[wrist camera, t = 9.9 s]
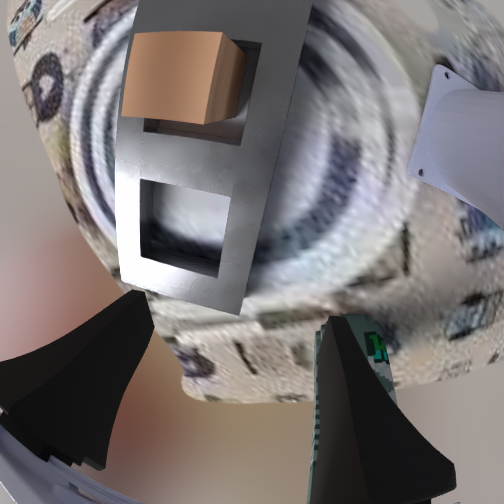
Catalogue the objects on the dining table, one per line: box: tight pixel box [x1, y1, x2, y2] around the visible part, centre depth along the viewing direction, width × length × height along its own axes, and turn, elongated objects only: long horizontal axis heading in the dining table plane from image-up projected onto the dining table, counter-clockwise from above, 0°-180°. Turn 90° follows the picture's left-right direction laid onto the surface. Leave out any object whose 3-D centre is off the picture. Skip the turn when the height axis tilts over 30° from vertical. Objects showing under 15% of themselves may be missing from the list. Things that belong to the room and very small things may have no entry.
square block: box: [121, 31, 248, 125], centre depth 11 cm, size 4×4×6 cm
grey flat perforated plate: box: [115, 0, 314, 316], centre depth 13 cm, size 10×30×2 cm, turn 169°
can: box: [307, 315, 397, 504], centre depth 16 cm, size 6×6×15 cm
